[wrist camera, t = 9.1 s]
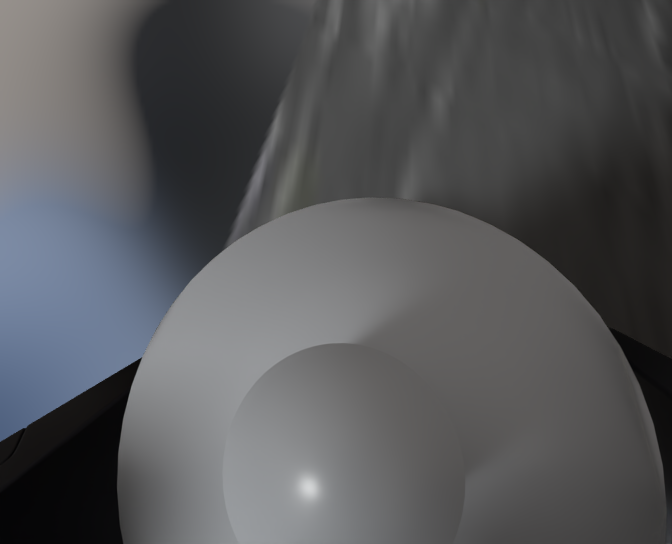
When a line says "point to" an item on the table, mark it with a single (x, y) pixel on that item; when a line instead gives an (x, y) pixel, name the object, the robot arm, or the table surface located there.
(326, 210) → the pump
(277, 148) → the table surface
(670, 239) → the table surface
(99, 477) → the robot arm
